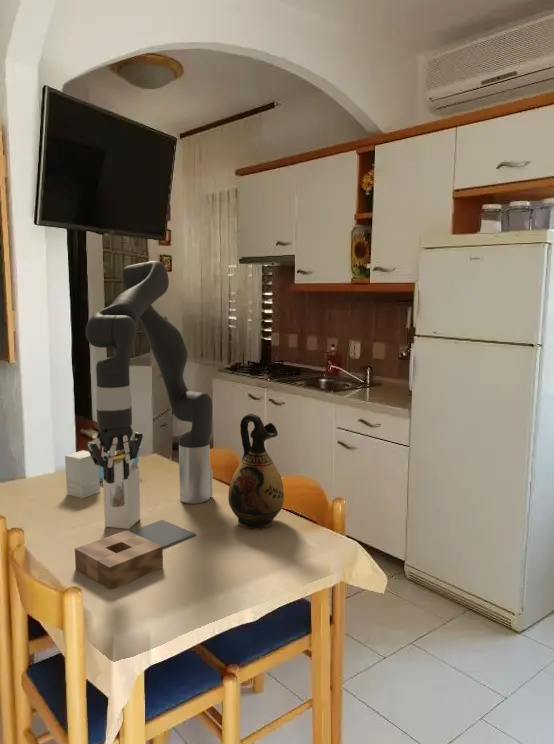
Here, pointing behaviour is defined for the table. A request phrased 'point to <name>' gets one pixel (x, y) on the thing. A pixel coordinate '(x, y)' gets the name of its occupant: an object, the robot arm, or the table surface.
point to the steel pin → (117, 481)
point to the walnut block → (118, 558)
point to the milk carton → (131, 509)
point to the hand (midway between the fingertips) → (116, 480)
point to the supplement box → (81, 474)
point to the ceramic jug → (256, 479)
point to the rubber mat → (163, 533)
